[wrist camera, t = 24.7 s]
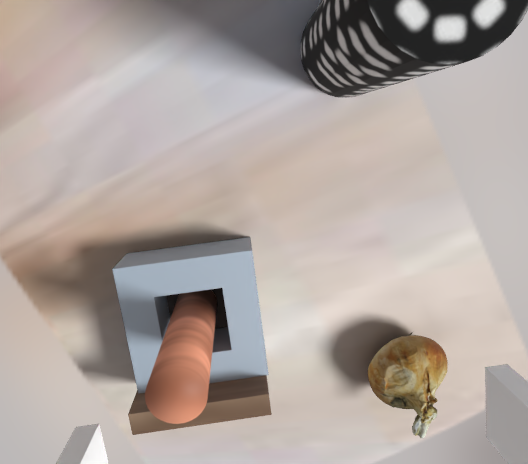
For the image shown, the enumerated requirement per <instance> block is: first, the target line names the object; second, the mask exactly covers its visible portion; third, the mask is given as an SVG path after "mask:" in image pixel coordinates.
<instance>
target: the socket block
mask: <svg viewBox="0 0 528 464" xmlns="http://www.w3.org/2000/svg"><path fill="white" fill-rule="evenodd" d="M112 270H113V275H114V279H115V284H116V289H117V294H118V298H119V303H120V308H121V313H122V318H123V322H124V327H125V332H126V337H127V341H128V346H129V351H130V356H131V360H132V365H133V370H134V375H135V379H136V384H137V389H138V394H139V393H145V390H146V387H147V384H148V381H149V378H150V376H151V373H152V370H153V367H154V364H155V361H156V358H157V356H158V353H159V350H160V347H161V344H162V341H163V338H164V336H165V333H166V330H167V327H168V324H169V321H170V314H169V308H168V303H167V297H166V295H173V294H181V293H188V292H195V291H202V290H210V289H217V288H222V289H223V296H224V302H225V309H226V315H227V322H228V327H224V328H217V329H215V331H214V341H213V350H212V360H211V370H210V379H209V383H216V382H223V381H230V380H237V379H244V378H251V377H257V376H264V375H268V367H267V359H266V352H265V344H264V337H263V329H262V322H261V314H260V307H259V299H258V292H257V284H256V277H255V269H254V262H253V254H252V247H251V240H250V237H247V238H239V239H232V240H224V241H217V242H209V243H202V244H194V245H187V246H179V247H172V248H164V249H157V250H149V251H142V252H134V253H127V254H126V255H125V256H124V257H123V258H122V259H121V260H120V261H119V262H118V263H117V265H116V266H115V267H114V268H113V269H112Z"/></svg>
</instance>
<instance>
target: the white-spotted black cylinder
mask: <svg viewBox="0 0 528 464" xmlns="http://www.w3.org/2000/svg"><path fill="white" fill-rule="evenodd" d="M527 10H528V0H322V1H321V3H320V4H319V6H318V8H317V9H316V11H315V12H314V14H313V15H312V17H311V18H310V20H309V21H308V23H307V25H306V27H305V30H304V32H303V36H302V40H301V49H300V52H301V61H302V64H303V67H304V70H305V72H306V74H307V76H308V78H309V79H310V80H311V81H312V83H313V84H314V85H315V86H316V87H318V88H319V89H320V90H321V91H323V92H325V93H327V94H329V95H332V96H336V97H344V98H348V97H354V96H358V95H361V94H365V93H368V92H371V91H374V90H377V89H381V88H384V87H387V86H390V85H393V84H397V83H400V82H403V81H406V80H410V79H413V78H416V77H419V76H422V75H426V74H429V73H432V72H435V71H438V70H442V69H445V68H448V67H451V66H455V65H457V64H461V63H464V62H467V61H470V60H472V59H475V58H478V57H480V56H483V55H484V54H486V53H488V52H489V51H491V50H493V49H494V48H496V47H497V46H498V45H500V44H501V43H502V42H503V41H504V40H505V39H506V38H508V37H509V36H510V35H511V34H512V32H513V31H514V30H515V29H516V27H517V26H518V25H519V23H520V22H521V21H522V19H523V18H524V16H525V14H526V12H527Z"/></svg>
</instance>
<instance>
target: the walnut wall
mask: <svg viewBox="0 0 528 464" xmlns="http://www.w3.org/2000/svg"><path fill="white" fill-rule="evenodd" d="M265 415H271V408H270V400H269V392H268V384H267V376H266V375H264V376H257V377H251V378H244V379H237V380H230V381H223V382H216V383H209V389H208V399H207V403H206V406H205V408H204V410H203V411H202V413H201V414H200V415H199V416H197V417H196V418H195V419H193V420H191V421H189V422H186V423H181V424H172V423H167V422H164V421H161V420H160V419H158V418H156V417H155V416H154V415H153V414H152V413H151V412H150V410H149V409H148V407H147V405H146V402H145V393H139V394H138V390H137V393H136V396H135V398H134V401H133V403H132V406H131V409H130V411H129V414H128V416H129V420H130V425H131V430H132V434H133V435H136V434H143V433H149V432H156V431H163V430H170V429H177V428H183V427H190V426H197V425H204V424H211V423H217V422H224V421H231V420H238V419H245V418H251V417H258V416H265Z"/></svg>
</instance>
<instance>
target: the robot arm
mask: <svg viewBox="0 0 528 464" xmlns="http://www.w3.org/2000/svg"><path fill="white" fill-rule="evenodd" d="M485 385H486V438H487V439H488V440H489V441H490V443H491V444H492V445H493V446H494V447H495V449H496V450H497V451H498V452H499V454H500V455H501V456H502V457H503V458H504V460H505V461H506V462H507V463H508V464H528V381H526V380H525V379H524V378H523V377H522V376H520V375H519V374H518V373H517V372H516V371H515V370H513V369H512V368H511V367H510V366H509V365H508V364H505V365H498V366H491V367H485ZM56 464H109V463H108V459H107V455H106V451H105V446H104V442H103V438H102V434H101V430H100V425H99V424H94V425H87V426H80V427H76V428H75V430H74V431H73V433H72V435H71V437H70V439H69V441H68V442H67V444H66V446H65V448H64V450H63V452H62V453H61V455H60V457H59V459H58V461H57V463H56Z"/></svg>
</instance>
